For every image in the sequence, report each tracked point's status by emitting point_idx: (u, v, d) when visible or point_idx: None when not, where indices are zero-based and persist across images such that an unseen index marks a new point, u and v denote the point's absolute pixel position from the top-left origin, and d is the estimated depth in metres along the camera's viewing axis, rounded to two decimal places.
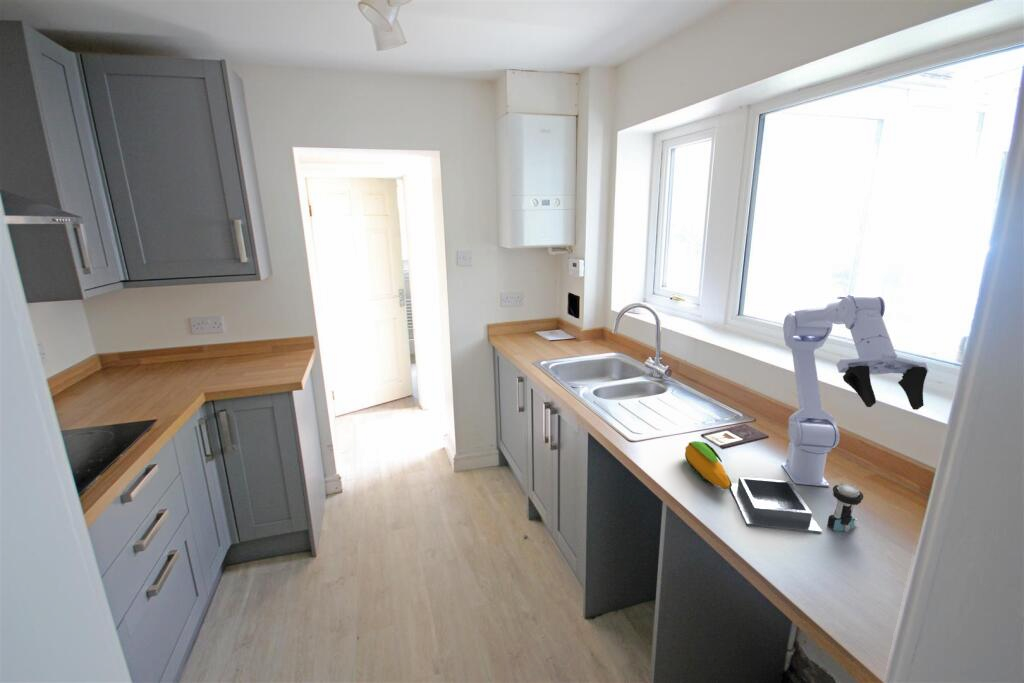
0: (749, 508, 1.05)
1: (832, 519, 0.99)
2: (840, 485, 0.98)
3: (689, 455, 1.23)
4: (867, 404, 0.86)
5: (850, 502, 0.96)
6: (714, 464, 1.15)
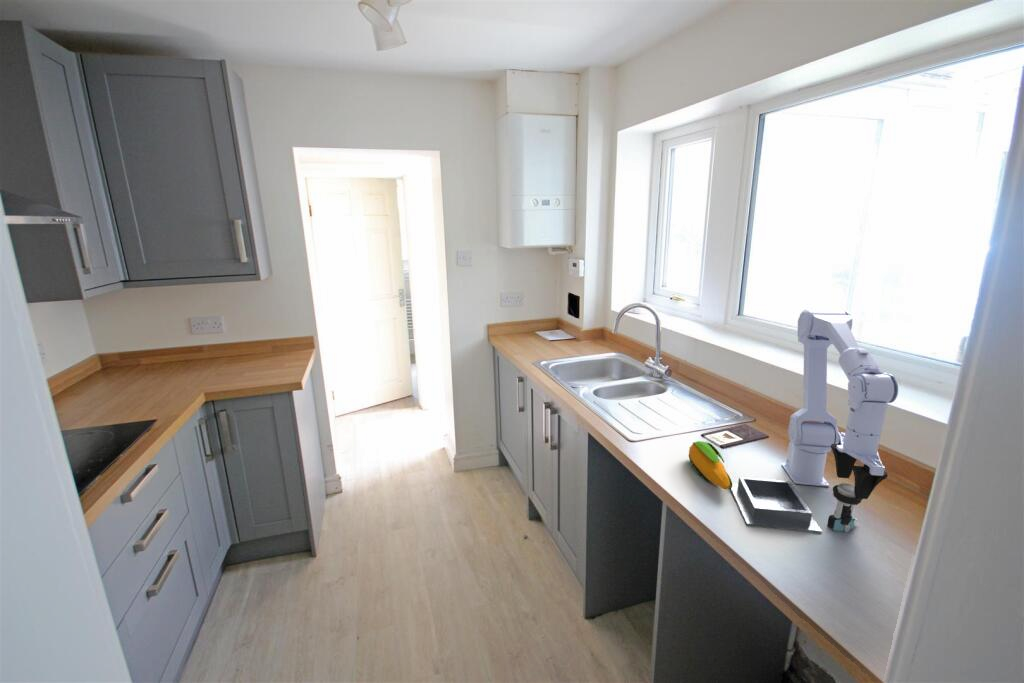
0: (749, 508, 1.05)
1: (832, 519, 0.99)
2: (840, 485, 0.98)
3: (691, 455, 1.24)
4: None
5: (850, 502, 0.96)
6: (715, 464, 1.15)
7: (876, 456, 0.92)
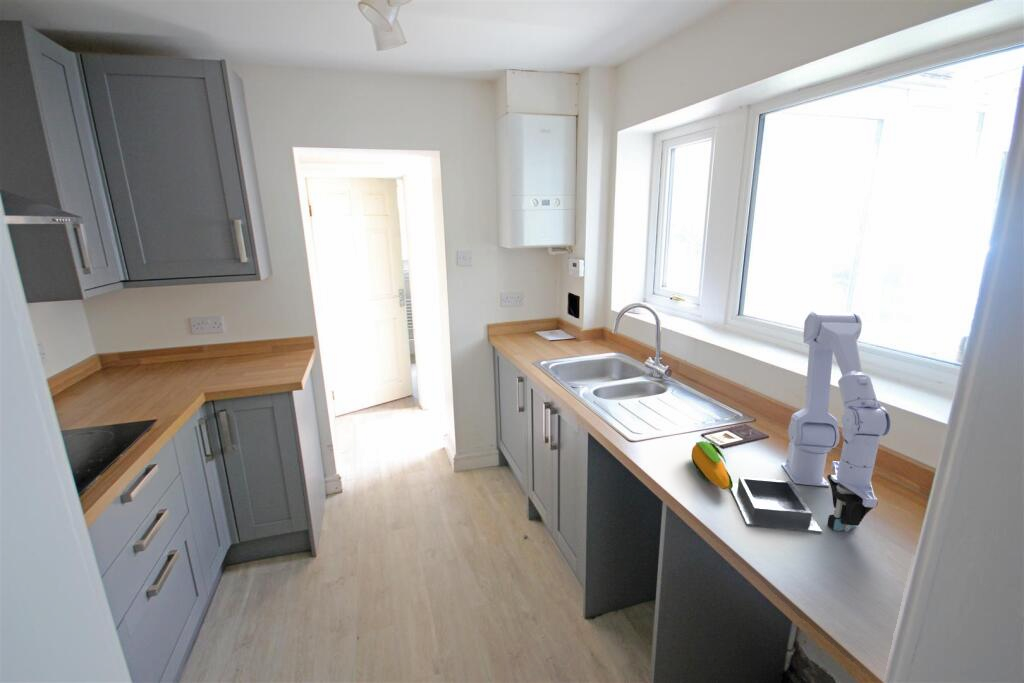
0: (749, 508, 1.05)
1: (832, 518, 0.99)
2: (839, 484, 0.99)
3: (694, 454, 1.24)
4: None
5: None
6: (715, 464, 1.15)
7: (869, 487, 0.94)
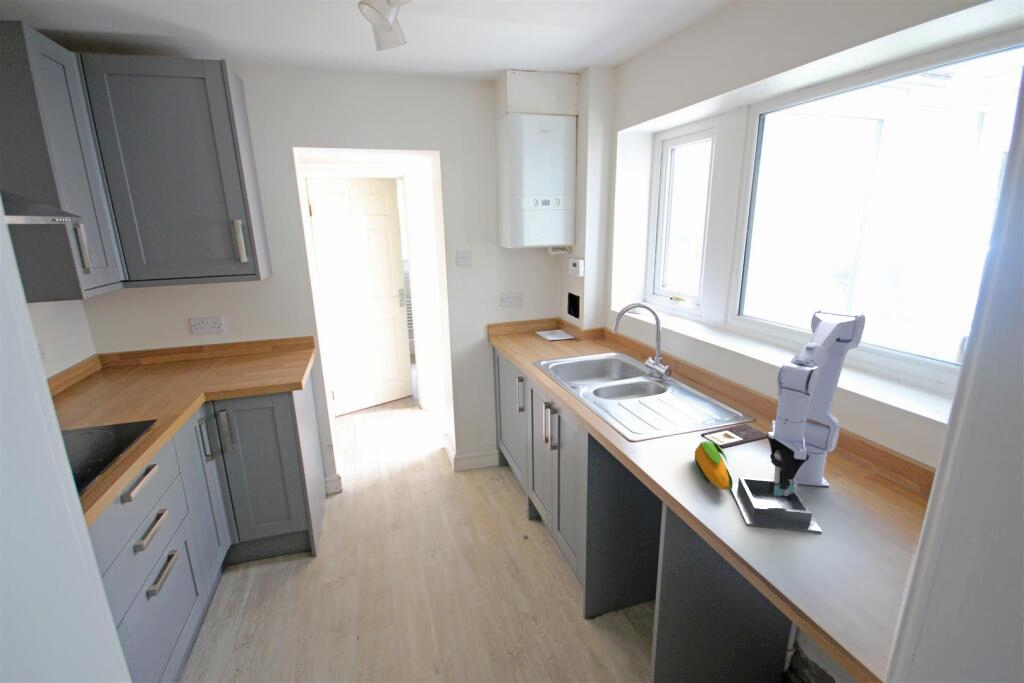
0: (749, 508, 1.05)
1: (772, 484, 1.05)
2: (776, 451, 1.04)
3: (696, 454, 1.24)
4: None
5: None
6: (716, 465, 1.15)
7: (802, 442, 0.99)
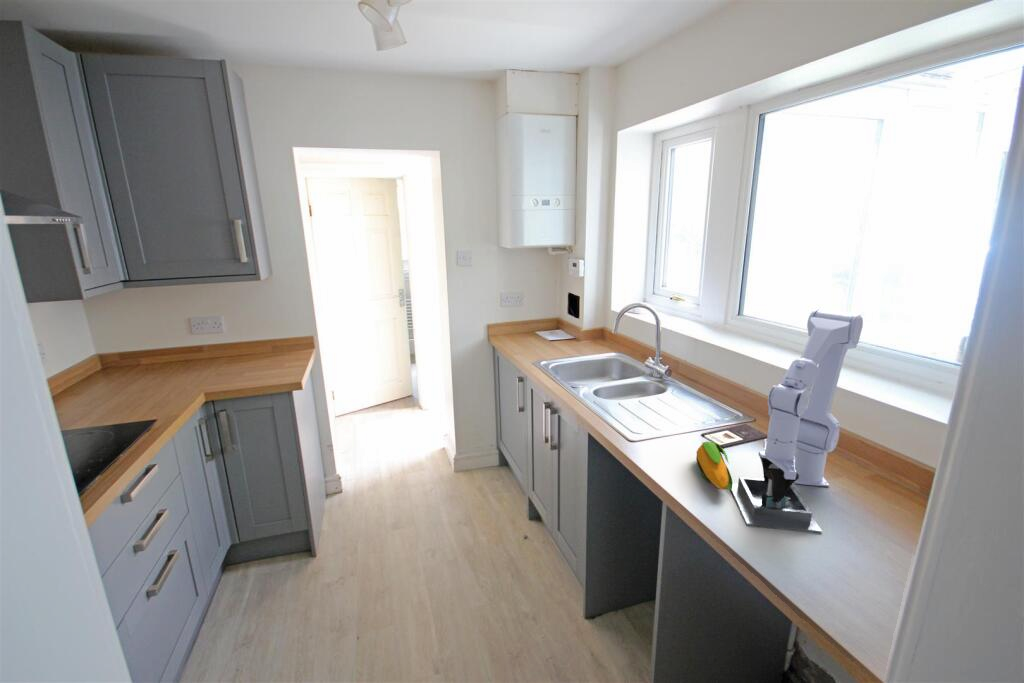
0: (749, 508, 1.05)
1: (765, 497, 1.06)
2: (771, 465, 1.05)
3: (698, 454, 1.24)
4: None
5: None
6: (716, 464, 1.15)
7: (792, 461, 1.01)
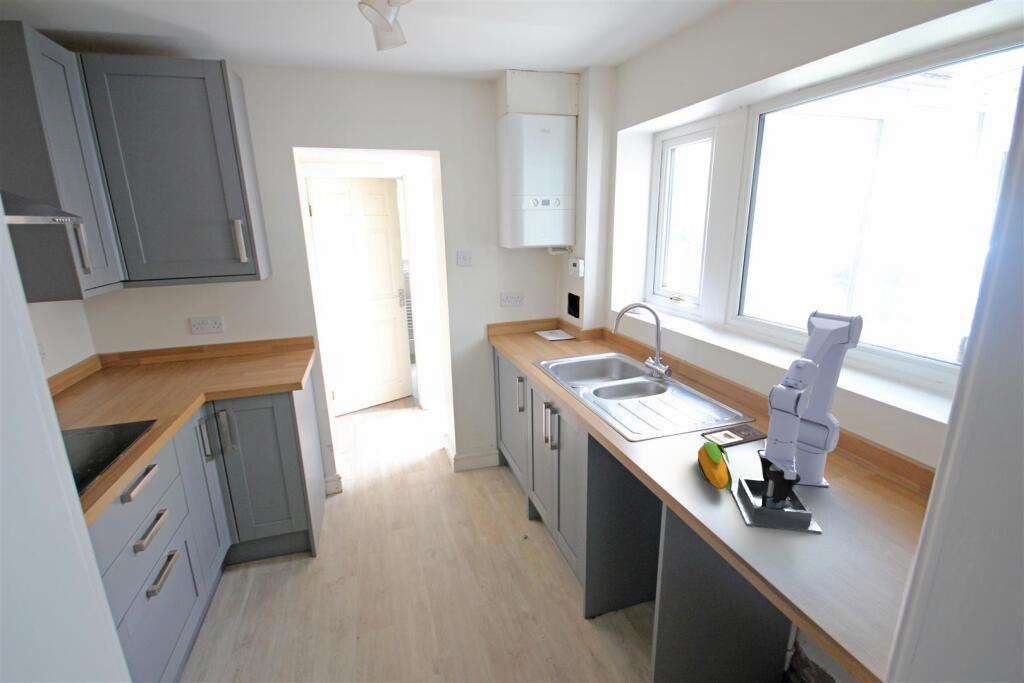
0: (749, 508, 1.05)
1: (765, 497, 1.06)
2: (772, 465, 1.05)
3: (699, 454, 1.24)
4: None
5: None
6: (716, 465, 1.15)
7: (792, 461, 1.01)
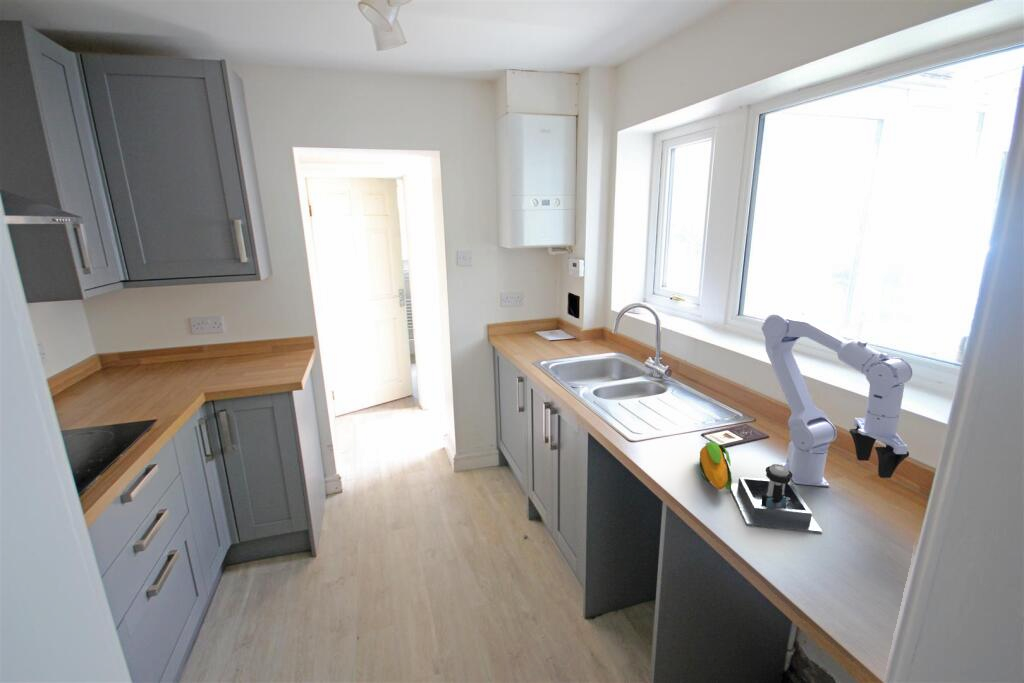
0: (749, 508, 1.05)
1: (765, 497, 1.06)
2: (772, 465, 1.05)
3: (701, 454, 1.24)
4: None
5: (779, 481, 1.03)
6: (716, 465, 1.15)
7: (896, 437, 0.99)
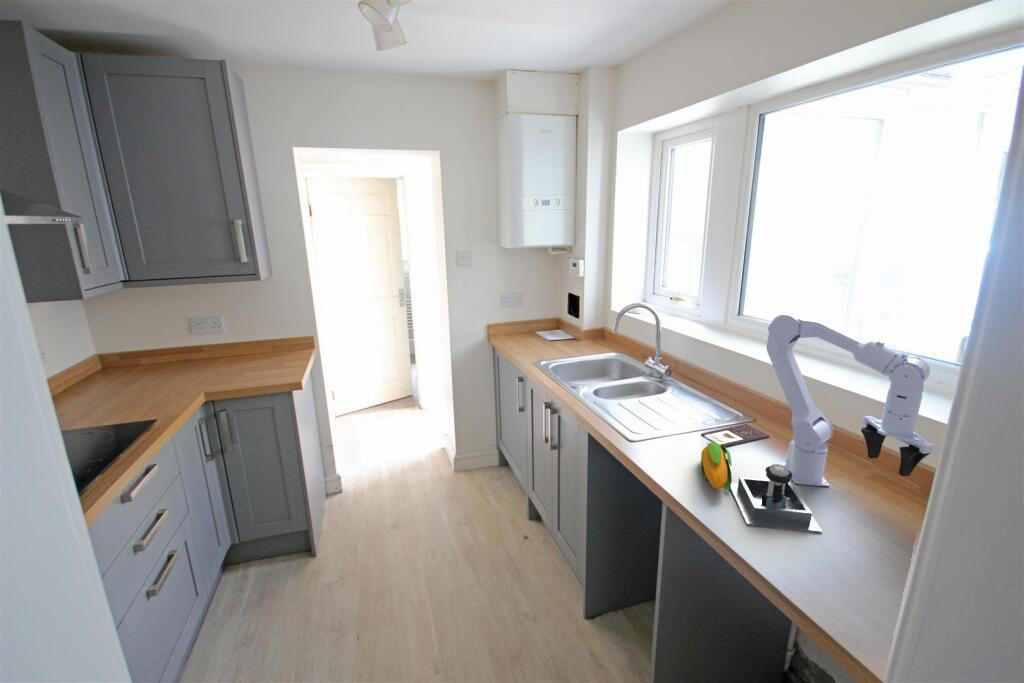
0: (749, 508, 1.05)
1: (765, 497, 1.06)
2: (772, 465, 1.05)
3: (702, 454, 1.24)
4: None
5: (779, 481, 1.03)
6: (715, 465, 1.15)
7: (915, 435, 1.00)
